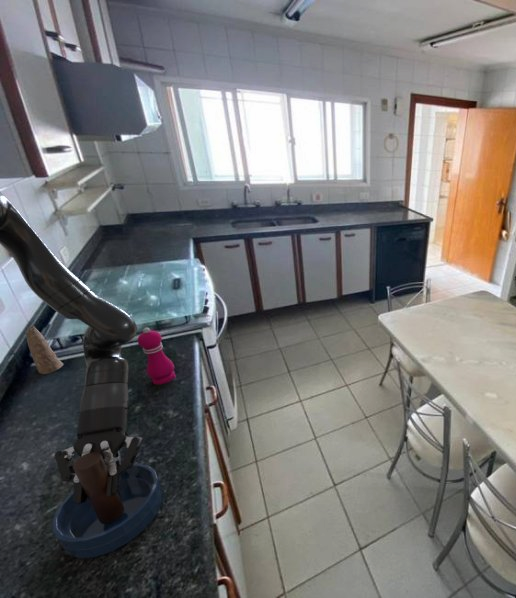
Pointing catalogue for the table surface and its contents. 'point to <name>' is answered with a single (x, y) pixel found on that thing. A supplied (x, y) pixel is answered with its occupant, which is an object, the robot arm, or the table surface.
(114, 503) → the brown cylinder
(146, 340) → the pepper mill
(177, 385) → the table surface
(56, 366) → the tan tapered cone
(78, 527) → the bowl
